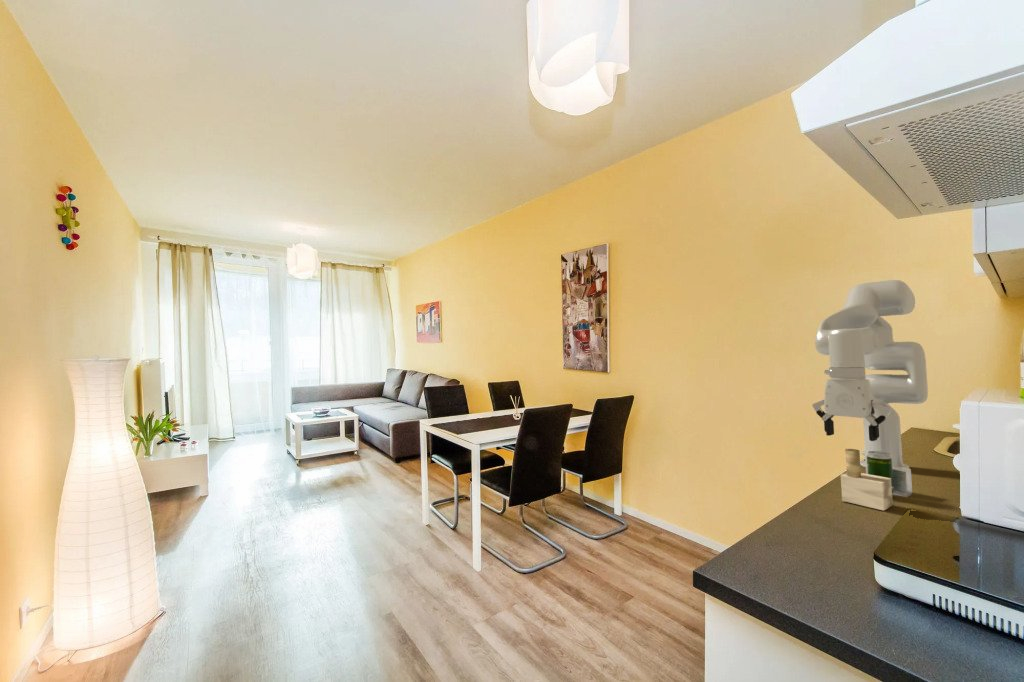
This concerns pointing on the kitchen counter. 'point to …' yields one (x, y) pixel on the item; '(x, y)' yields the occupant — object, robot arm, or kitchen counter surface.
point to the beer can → (880, 465)
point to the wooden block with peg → (864, 485)
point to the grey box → (901, 481)
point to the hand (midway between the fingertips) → (851, 437)
